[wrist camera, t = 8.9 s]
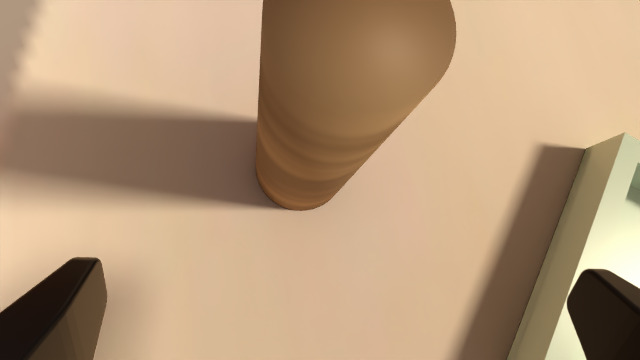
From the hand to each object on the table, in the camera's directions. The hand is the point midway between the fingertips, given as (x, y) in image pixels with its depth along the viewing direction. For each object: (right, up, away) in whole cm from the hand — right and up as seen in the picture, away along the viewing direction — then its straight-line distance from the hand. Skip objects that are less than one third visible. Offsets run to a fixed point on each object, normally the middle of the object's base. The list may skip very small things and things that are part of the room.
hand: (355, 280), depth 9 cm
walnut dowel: (-2, +2, +12) cm, 13 cm away
